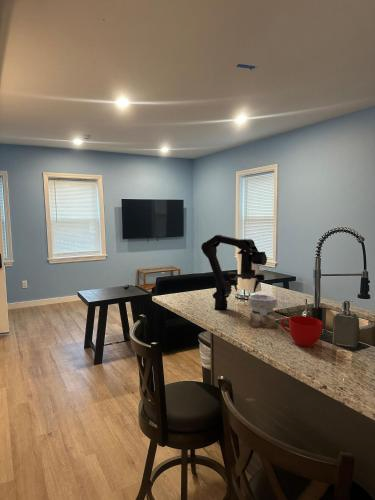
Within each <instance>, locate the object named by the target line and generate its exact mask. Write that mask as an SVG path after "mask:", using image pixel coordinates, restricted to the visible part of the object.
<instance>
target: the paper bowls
mask: <svg viewBox="0 0 375 500" xmlns="http://www.w3.org/2000/svg"><path fill="white" fill-rule="evenodd" d="M277 302H278V299H277V298H276V297H275V296H272V295H266V294H251V295H249V296H248V306H249V307H251V309H252V311H253V312H254V313H255V312H256V313H257V314H260V309H267V314H269V313H271V312H273V310H274V309H277Z"/></svg>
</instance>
